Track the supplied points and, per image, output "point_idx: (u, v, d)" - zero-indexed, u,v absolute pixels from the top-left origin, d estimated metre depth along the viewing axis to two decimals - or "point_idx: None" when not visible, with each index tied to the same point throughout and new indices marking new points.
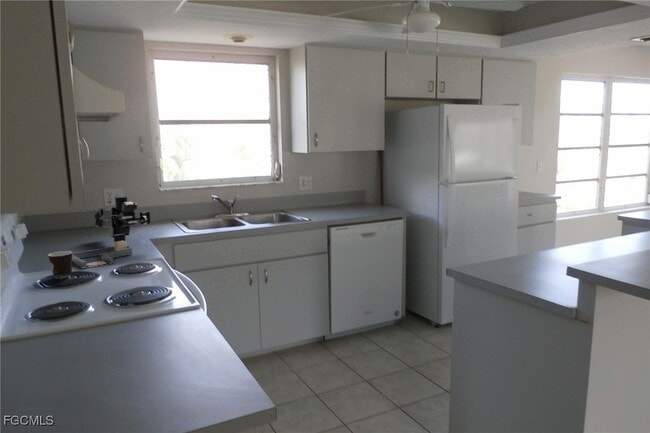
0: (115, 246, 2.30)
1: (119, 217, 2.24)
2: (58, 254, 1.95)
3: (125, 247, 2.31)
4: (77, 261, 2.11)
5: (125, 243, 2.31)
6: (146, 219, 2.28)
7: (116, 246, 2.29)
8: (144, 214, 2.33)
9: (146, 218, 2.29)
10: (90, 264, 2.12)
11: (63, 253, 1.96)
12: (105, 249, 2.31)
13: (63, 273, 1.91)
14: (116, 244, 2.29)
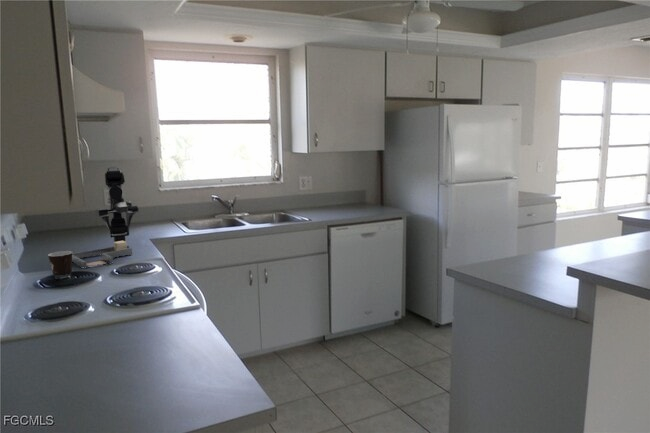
0: (115, 246, 2.30)
1: (106, 217, 2.23)
2: (58, 254, 1.95)
3: (125, 247, 2.31)
4: (77, 261, 2.11)
5: (125, 243, 2.31)
6: (128, 225, 2.33)
7: (116, 246, 2.29)
8: (132, 214, 2.32)
9: None
10: (90, 264, 2.12)
11: (63, 253, 1.96)
12: (105, 249, 2.31)
13: (63, 273, 1.91)
14: (116, 244, 2.29)
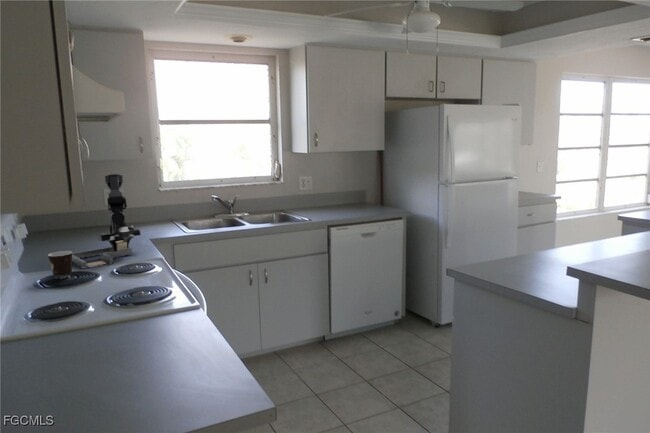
0: None
1: (113, 241, 2.27)
2: (58, 254, 1.95)
3: (125, 247, 2.31)
4: (77, 261, 2.11)
5: (125, 243, 2.31)
6: None
7: (116, 246, 2.29)
8: (129, 239, 2.32)
9: (127, 247, 2.33)
10: (90, 264, 2.12)
11: (63, 253, 1.96)
12: (105, 249, 2.31)
13: (63, 273, 1.91)
14: (116, 244, 2.29)
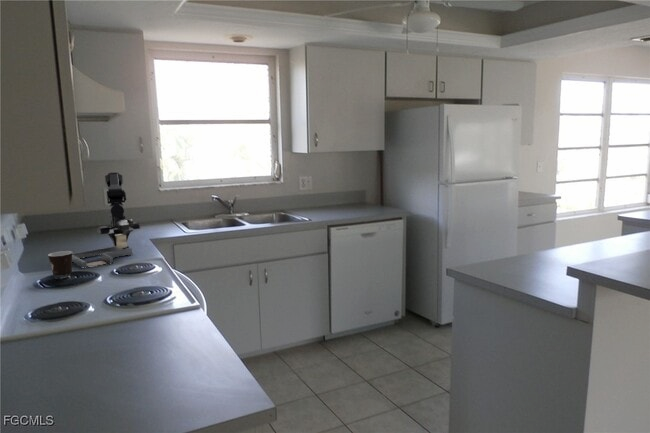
0: None
1: (112, 235, 2.26)
2: (58, 254, 1.95)
3: (124, 240, 2.31)
4: (77, 261, 2.11)
5: (124, 236, 2.30)
6: None
7: None
8: (129, 232, 2.32)
9: None
10: (90, 264, 2.12)
11: (63, 253, 1.96)
12: (105, 249, 2.31)
13: (63, 273, 1.91)
14: (115, 237, 2.29)
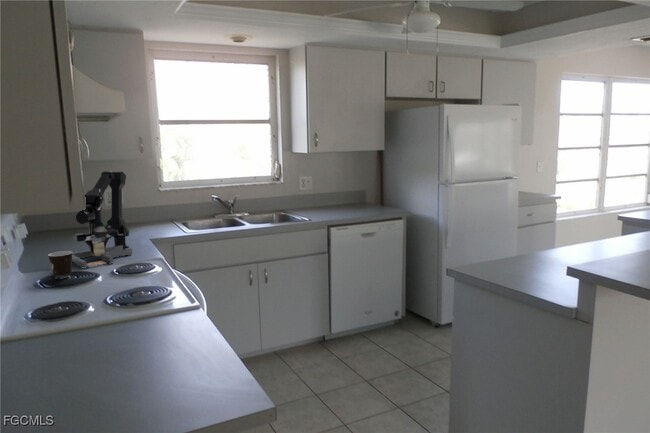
0: None
1: (89, 242, 2.19)
2: (58, 254, 1.95)
3: (102, 248, 2.23)
4: (77, 261, 2.11)
5: (102, 243, 2.23)
6: None
7: (93, 247, 2.22)
8: (107, 239, 2.24)
9: None
10: (90, 264, 2.12)
11: (63, 253, 1.96)
12: (105, 249, 2.31)
13: (63, 273, 1.91)
14: (93, 244, 2.21)
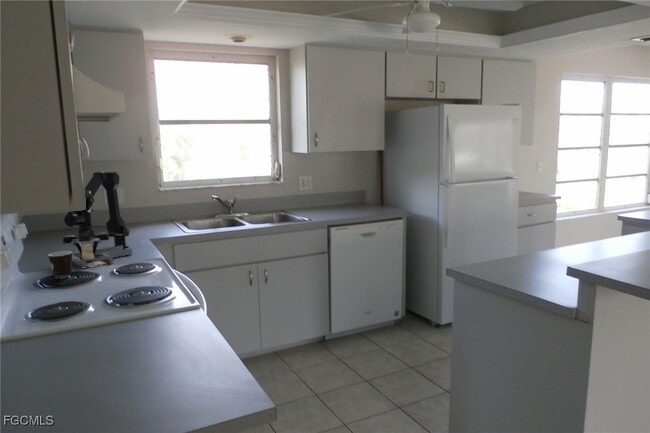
0: None
1: (77, 245, 2.14)
2: (58, 254, 1.95)
3: (90, 251, 2.16)
4: (77, 261, 2.11)
5: (90, 247, 2.16)
6: (94, 254, 2.18)
7: (82, 250, 2.16)
8: (95, 243, 2.16)
9: (95, 251, 2.18)
10: (90, 264, 2.12)
11: (63, 253, 1.96)
12: (105, 249, 2.31)
13: (63, 273, 1.91)
14: None
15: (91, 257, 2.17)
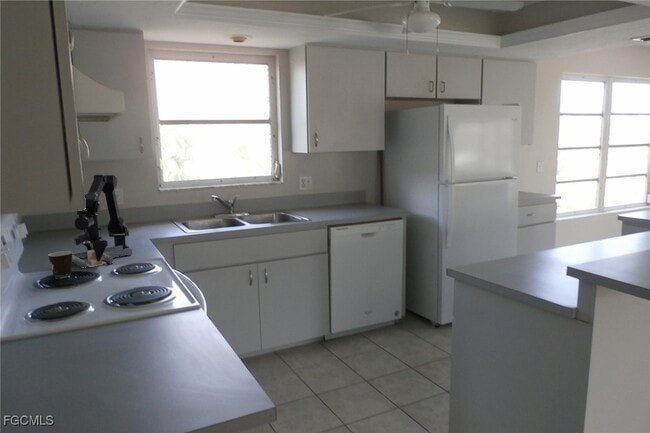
0: None
1: (84, 245, 2.14)
2: (58, 254, 1.95)
3: (90, 258, 2.09)
4: (77, 261, 2.11)
5: (90, 253, 2.09)
6: None
7: None
8: (93, 249, 2.06)
9: (96, 257, 2.08)
10: None
11: (63, 253, 1.96)
12: (105, 249, 2.31)
13: (63, 273, 1.91)
14: None
15: (91, 263, 2.10)
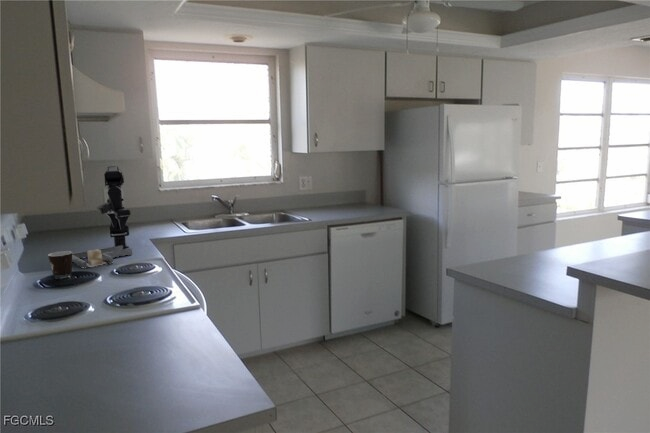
0: None
1: (107, 215, 2.30)
2: (58, 254, 1.95)
3: (90, 258, 2.09)
4: (77, 261, 2.11)
5: (90, 253, 2.09)
6: (120, 228, 2.24)
7: None
8: (117, 218, 2.21)
9: (120, 226, 2.23)
10: None
11: (63, 253, 1.96)
12: (105, 249, 2.31)
13: (63, 273, 1.91)
14: None
15: (91, 263, 2.10)
